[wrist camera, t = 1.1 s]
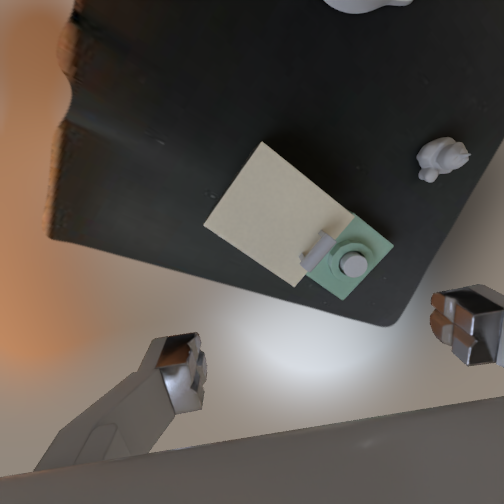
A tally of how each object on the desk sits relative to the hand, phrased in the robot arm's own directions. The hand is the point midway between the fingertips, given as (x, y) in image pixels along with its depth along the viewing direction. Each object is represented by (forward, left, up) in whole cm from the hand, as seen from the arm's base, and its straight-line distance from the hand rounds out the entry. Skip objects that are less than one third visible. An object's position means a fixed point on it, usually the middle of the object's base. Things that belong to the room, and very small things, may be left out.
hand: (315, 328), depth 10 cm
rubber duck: (-20, +18, -36) cm, 45 cm away
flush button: (-1, +18, -31) cm, 36 cm away
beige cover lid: (0, +3, -28) cm, 28 cm away
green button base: (-1, +18, -36) cm, 40 cm away
